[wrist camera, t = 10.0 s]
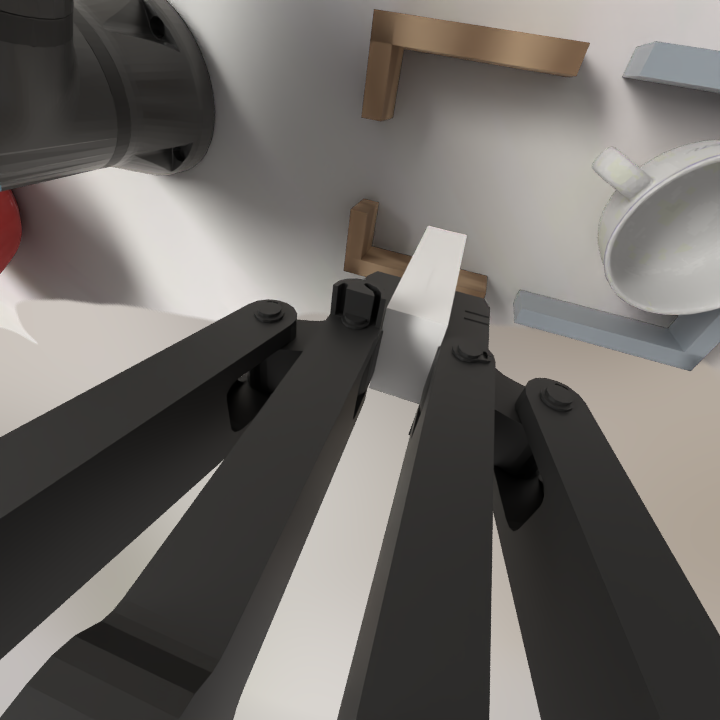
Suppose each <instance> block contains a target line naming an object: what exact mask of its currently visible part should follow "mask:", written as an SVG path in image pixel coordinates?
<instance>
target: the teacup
mask: <svg viewBox="0 0 720 720" xmlns="http://www.w3.org/2000/svg"><path fill="white" fill-rule="evenodd" d="M592 168H593V170H594V171H595V172H596V173H597V174H598V175H599V176H600V177H601V178H602V179H604V180H605V181H606V182H607V183H609V184H610V185H611V186H612V187H613V188H615V189H616V191H615V192H614V194H613V195H612V197H611V198H610V199H609V201H608V203H607V205H606V207H605V209H604V211H603V213H602V216H601V218H600V222H599V227H598V246H599V251H600V255H601V259H602V262H603V265H604V269H605V275H606V278H607V280H608V282H609V284H610V286H611V288H612V289H613V291H614V292H615V293H616V294H617V295H618V297H620V298H621V299H622V300H623V301H625V302H626V303H628V304H629V305H631V306H633V307H636V308H638V309H640V310H643V311H647V312H652V313H657V314H664V315H686V314H695V313H701V312H706V311H711V310H714V309H718V308H720V140H707V141H700V142H695V143H690V144H687V145H683V146H680V147H677V148H675V149H672V150H669V151H667V152H665V153H663V154H661V155H659V156H657V157H655V158H654V159H652V160H650V161H649V162H647V163H646V164H644V165H643V166H641V167H640V168H639V167H638V166H637V165H636V164H634V163H633V162H632V161H631V160H630V159H628V158H627V157H626V156H625V155H624V154H622V153H621V152H620V151H619V150H617V149H616V148H614V147H609V148H607V149H606V150H604V151H603V152H602V153H601V154H600V155H599V156H598V157H597V158H596V159H595V161H594V162H593V164H592Z"/></svg>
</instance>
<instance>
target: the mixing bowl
mask: <svg viewBox="0 0 720 720" xmlns="http://www.w3.org/2000/svg"><path fill="white" fill-rule="evenodd" d="M21 235H22V227H21V219H20V213H19V208H18V205H17V202H16V199H15V197H14V195H13V193H12V191H11V189H10V190H6V191H2V192H0V274H1V272H2V271H3V270H4V269H5V267H6V266H7V265H8V263H9V262H10V261H11V259H12V258H13V256H14V255H15V253H16V252H17V250H18V247H19V245H20V241H21Z"/></svg>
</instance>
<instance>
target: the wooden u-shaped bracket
mask: <svg viewBox="0 0 720 720" xmlns="http://www.w3.org/2000/svg"><path fill="white" fill-rule="evenodd" d="M589 44H590V43H587V42H581V41H574V40H568V39H561V38H555V37H549V36H542V35H536V34H529V33H523V32H517V31H510V30H504V29H497V28H491V27H485V26H478V25H472V24H465V23H459V22H453V21H446V20H440V19H433V18H427V17H421V16H414V15H408V14H401V13H395V12H389V11H382V10H376V9H374V14H373V22H372V31H371V39H370V48H369V57H368V65H367V74H366V83H365V91H364V100H363V108H362V118H367V119H372V120H377V121H384V120H387V119H391V118H393V113H394V107H395V101H396V95H397V89H398V82H399V76H400V70H401V64H402V58H403V52H404V49H406V50H412V51H418V52H423V53H429V54H435V55H441V56H447V57H453V58H458V59H464V60H470V61H476V62H482V63H488V64H493V65H499V66H505V67H511V68H517V69H523V70H528V71H534V72H540V73H546V74H552V75H558V76H563V77H573V76H577V73H578V71H579V68H580V66H581V64H582V61H583V59H584V56H585V54H586V52H587V49H588V47H589ZM378 205H379V202H375V201H371V200H367V199H363V200H361V201H360V202H359V203H358V204H357V205H355V206H354V207H353V208H352V209H351V212H350V220H349V229H348V238H347V246H346V255H345V263H344V271H346V272H350V273H354V274H357V275H361V276H365V277H367V276H368V275H370V274H372V273H374V272H377V271H379V272H383V273H387V274H390V275H394V276H398V277H401V278H402V276H403V274H404V272H405V270H406V268H407V266H408V264H409V262H410V260H411V259H412V257H411V256H408V255H404V254H400V253H396V252H392V251H388V250H385V249H381V248H377V247H373V246H372V241H373V235H374V229H375V223H376V217H377V211H378ZM486 286H487V276H485V275H481V274H477V273H473V272H469V271H465V270H461V269H460V271H459V276H458V280H457V285H456V290H455V291H458V292H462V293H465V294H469V295H473V296H476V297H480V298H484V297H485V295H486Z"/></svg>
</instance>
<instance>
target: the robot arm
mask: <svg viewBox="0 0 720 720" xmlns="http://www.w3.org/2000/svg"><path fill="white" fill-rule="evenodd" d="M214 116H215V113H214V99H213V92H212V86H211V82H210V78H209V75H208V71H207V68H206V65H205V62H204V60H203V57H202V55H201V52H200V50H199V48H198V46H197V44H196V42H195V40H194V38H193V36H192V34H191V32H190V31H189V29H188V28H187V26H186V24H185V23H184V22H183V20H182V19H181V17H180V16H179V15H178V13H177V12H176V11H175V10H174V9H173V7H172V6H171V5H170V4H169V3H168V2H167V1H166V0H0V192H2V191H6V190H10V189H14V188H19V187H23V186H27V185H32V184H36V183H40V182H45V181H49V180H53V179H58V178H62V177H66V176H71V175H75V174H79V173H84V172H88V171H92V170H96V169H101V168H106V167H115V168H120V169H126V170H131V171H136V172H141V173H146V174H152V175H170V174H174V173H178V172H182V171H185V170H188V169H190V168H192V167H194V166H195V165H196V164H197V163H198V162H199V161H200V160H201V159H202V158H203V157H204V155H205V154H206V152H207V150H208V148H209V145H210V142H211V139H212V135H213V129H214ZM466 238H467V235H464V234H460V233H456V232H452V231H448V230H444V229H440V228H436V227H432V226H428V227H427V229H426V231H425V233H424V235H423V237H422V239H421V241H420V243H419V245H418V247H417V249H416V251H415V253H414V255H413V257H412V259H411V260H410V262H409V264H408V266H407V268H406V270H405V272H404V274H403V276H402V278H401V277H398V276H394V275H390V274H387V273H383V272H379V271H377V272H374V273H372V274H370V275H368V276H367V277H366V278H365V280H362V279H345V280H341V281H338V282H337V283H335V284H334V285H333V293H332V303H331V313H330V315H329V317H328V318H327V319H326V320H324V321H307V320H297V313H296V311H295V309H294V308H293V307H292V306H290V305H289V304H287V303H285V302H281V301H278V300H260V301H256V302H253V303H250V304H248V305H246V306H244V307H243V308H241V309H239V310H237V311H235V312H233V313H231V314H229V315H228V316H226V317H224V318H222V319H220V320H218V321H216V322H215V323H213V324H211V325H209V326H207V327H205V328H204V329H202V330H200V331H198V332H196V333H194V334H192V335H191V336H189V337H187V338H185V339H183V340H181V341H179V342H177V343H175V344H173V345H172V346H170V347H168V348H166V349H164V350H163V351H160V352H159V353H157V354H155V355H153V356H151V357H149V358H147V359H146V360H144V361H142V362H140V363H138V364H136V365H134V366H132V367H131V368H129V369H127V370H125V371H123V372H121V373H119V374H117V375H116V376H114V377H112V378H110V379H108V380H106V381H105V382H103V383H101V384H99V385H97V386H95V387H93V388H91V389H89V390H88V391H86V392H84V393H82V394H80V395H78V396H76V397H75V398H73V399H71V400H69V401H67V402H65V403H63V404H62V405H60V406H58V407H56V408H54V409H52V410H50V411H48V412H47V413H45V414H43V415H41V416H39V417H37V418H35V419H33V420H32V421H30V422H28V423H26V424H24V425H22V426H20V427H19V428H17V429H15V430H13V431H11V432H9V433H7V434H5V435H4V436H2V437H0V659H1V658H3V657H4V656H5V655H6V654H7V653H8V652H9V651H10V650H11V649H13V648H14V647H15V646H16V645H17V644H18V643H19V642H21V641H22V640H23V639H24V638H25V637H26V636H27V635H28V634H29V633H30V632H32V631H33V630H34V629H35V628H36V627H37V626H38V625H39V624H41V623H42V622H43V621H44V620H45V619H46V618H47V617H48V616H50V614H52V613H53V612H54V611H55V610H56V609H57V608H59V607H60V606H61V605H62V604H63V603H64V602H65V601H66V600H67V599H68V598H70V596H72V595H73V594H74V593H75V592H76V591H77V590H78V589H80V588H81V587H82V586H83V585H84V584H85V583H86V582H88V581H89V580H90V579H91V578H92V577H93V576H94V575H95V574H96V573H98V572H99V571H100V570H101V569H102V568H103V567H104V566H105V565H106V564H107V563H109V562H110V561H111V560H112V559H113V558H114V557H115V556H117V555H118V554H119V553H120V552H121V551H122V550H123V549H124V548H125V547H126V546H128V545H129V544H130V543H131V542H132V541H133V540H134V539H136V538H137V537H138V536H139V535H140V534H141V533H142V532H143V531H144V530H146V528H148V527H149V526H150V525H151V524H152V523H153V522H154V521H156V520H157V519H158V518H159V517H160V516H161V515H162V514H163V513H165V512H166V511H167V510H168V509H169V508H170V507H171V506H172V505H173V504H175V503H176V502H177V501H178V500H179V499H180V498H181V497H182V496H183V495H185V494H186V493H187V492H188V491H189V490H190V489H191V488H192V487H194V486H195V485H196V484H197V483H198V482H199V481H200V480H201V479H202V478H204V477H205V476H206V475H207V474H208V473H209V472H210V471H211V470H212V469H214V468H215V467H216V466H217V465H218V464H219V463H220V462H221V461H223V460H224V461H223V462H222V463H221V465H220V466H219V467H218V469H217V470H216V471H215V473H214V474H213V476H212V477H211V478H210V480H209V481H208V483H207V484H206V485H205V487H204V488H203V489H202V491H201V492H200V493H199V495H198V496H197V498H196V499H195V500H194V502H193V503H192V504H191V506H190V508H189V509H188V510H187V511H186V513H185V514H184V515H183V517H182V518H181V520H180V521H179V523H178V524H177V525H176V526H175V528H174V529H173V530H172V532H171V533H170V535H169V536H168V537H167V539H166V540H165V541H164V543H163V544H162V546H161V547H160V548H159V550H158V551H157V553H156V554H155V555H154V557H153V558H152V559H151V561H150V562H149V564H148V565H147V566H146V568H145V569H144V570H143V572H142V573H141V574H140V576H139V577H138V579H137V580H136V581H135V583H134V584H133V585H132V587H131V588H130V589H129V591H128V592H127V594H126V595H125V597H124V598H123V599H122V600H121V601H120V603H119V604H118V605H117V606H116V608H115V609H114V610H113V611H112V612H111V613H110V614H109V615H108V616H106V617H105V618H104V619H103V620H102V621H101V622H99V623H97V624H95V625H93V626H92V627H90V628H88V629H86V630H84V631H82V632H80V633H79V634H77V635H75V636H74V637H73V638H71V639H70V640H69V641H68V642H67V643H66V644H64V645H63V646H62V647H61V648H60V649H59V650H58V651H56V652H55V653H54V654H53V655H52V656H51V657H50V658H49V659H48V660H47V662H46V663H45V664H44V665H43V666H42V667H41V668H40V669H39V671H38V672H37V673H36V674H35V675H34V676H33V677H32V679H31V680H30V681H29V682H28V683H27V684H26V685H25V687H24V688H23V689H22V691H21V692H20V693H19V695H18V696H17V697H16V698H15V699H14V701H13V702H12V703H11V705H10V706H9V707H8V708H7V710H6V711H5V712H4V714H3V715H2V716H1V717H0V720H233V718H234V715H235V711H236V707H237V705H238V702H239V699H240V696H241V694H242V692H243V689H244V686H245V684H246V682H247V679H248V677H249V675H250V672H251V670H252V668H253V665H254V663H255V660H256V658H257V656H258V653H259V651H260V648H261V646H262V643H263V641H264V639H265V637H266V634H267V632H268V629H269V627H270V625H271V622H272V620H273V618H274V615H275V613H276V610H277V608H278V606H279V603H280V601H281V598H282V596H283V594H284V591H285V589H286V587H287V584H288V582H289V579H290V577H291V574H292V572H293V570H294V568H295V565H296V563H297V560H298V558H299V556H300V553H301V551H302V549H303V546H304V544H305V541H306V539H307V537H308V534H309V532H310V529H311V527H312V525H313V522H314V520H315V518H316V515H317V513H318V510H319V508H320V505H321V503H322V501H323V498H324V496H325V494H326V491H327V489H328V487H329V484H330V482H331V479H332V477H333V475H334V472H335V470H336V467H337V465H338V463H339V461H340V458H341V456H342V453H343V451H344V449H345V446H346V444H347V441H348V439H349V437H350V434H351V432H352V429H353V427H354V425H355V422H356V420H357V418H358V415H359V413H360V411H361V408H362V406H363V403H364V401H365V397H366V392H367V388H368V385H369V383H370V386H369V388H371V389H374V390H377V391H380V392H383V393H386V394H390V395H393V396H396V397H399V398H402V399H405V400H408V401H412V402H415V403H417V404H419V408H418V410H417V413H416V416H415V418H414V421H413V424H412V426H411V429H410V432H409V435H410V438H409V442H408V446H407V450H406V454H405V458H404V461H403V465H402V469H401V473H400V477H399V481H398V485H397V489H396V493H395V497H394V500H393V504H392V508H391V512H390V516H389V520H388V524H387V527H386V531H385V535H384V539H383V543H382V547H381V551H380V555H379V559H378V563H377V567H376V571H375V574H374V579H373V582H372V586H371V590H370V594H369V598H368V602H367V605H366V609H365V613H364V618H363V621H362V625H361V629H360V633H359V636H358V640H357V645H356V649H355V652H354V656H353V660H352V664H351V668H350V672H349V675H348V680H347V683H346V687H345V691H344V695H343V699H342V703H341V707H340V710H339V714H338V719H337V720H489V704H490V646H491V645H490V644H491V587H492V530H493V513H494V517H495V521H496V526H497V530H498V534H499V539H500V543H501V547H502V552H503V556H504V560H505V564H506V569H507V573H508V578H509V582H510V587H511V591H512V595H513V600H514V604H515V608H516V612H517V617H518V621H519V626H520V630H521V634H522V639H523V643H524V647H525V651H526V656H527V660H528V665H529V668H530V673H531V678H532V682H533V686H534V691H535V695H536V699H537V704H538V708H539V712H540V717H541V720H720V635H719V633H718V632H717V630H716V628H715V626H714V625H713V623H712V621H711V619H710V618H709V616H708V614H707V612H706V611H705V609H704V607H703V606H702V604H701V602H700V600H699V599H698V597H697V595H696V594H695V592H694V590H693V588H692V587H691V585H690V583H689V581H688V580H687V578H686V576H685V574H684V573H683V571H682V569H681V567H680V566H679V564H678V562H677V561H676V559H675V557H674V555H673V554H672V552H671V550H670V548H669V547H668V545H667V543H666V541H665V540H664V538H663V537H662V535H661V533H660V531H659V529H658V528H657V526H656V524H655V522H654V521H653V519H652V517H651V516H650V514H649V512H648V510H647V509H646V507H645V505H644V503H643V502H642V500H641V498H640V496H639V495H638V493H637V491H636V490H635V488H634V486H633V485H632V483H631V481H630V479H629V477H628V476H627V474H626V472H625V470H624V469H623V467H622V465H621V464H620V462H619V460H618V458H617V457H616V455H615V453H614V452H613V450H612V448H611V446H610V445H609V443H608V441H607V439H606V438H605V436H604V434H603V433H602V431H601V429H600V427H599V426H598V424H597V422H596V420H595V419H594V417H593V415H592V413H591V412H590V410H589V408H588V407H587V405H586V403H585V402H584V401H583V399H582V398H581V397H580V396H579V395H578V394H577V393H576V392H575V391H573V390H572V389H571V388H569V387H568V386H566V385H564V384H562V383H560V382H558V381H554V380H551V379H547V378H535V379H532V380H530V381H528V383H527V385H526V386H523V385H521V384H519V383H517V382H515V381H513V380H512V379H510V378H508V377H506V376H505V375H503V374H502V373H501V372H499V371H498V370H497V369H496V368H495V359H494V356H493V354H492V353H491V352H490V351H489V349H488V342H489V317H490V307H489V306H488V304H487V303H486V301H485V300H484V298H480V297H476V296H473V295H469V294H465V293H462V292H458V291H455V290H456V285H457V280H458V276H459V271H460V266H461V261H462V257H463V252H464V247H465V242H466ZM245 373H246V374H245ZM370 381H371V382H370Z"/></svg>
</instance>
